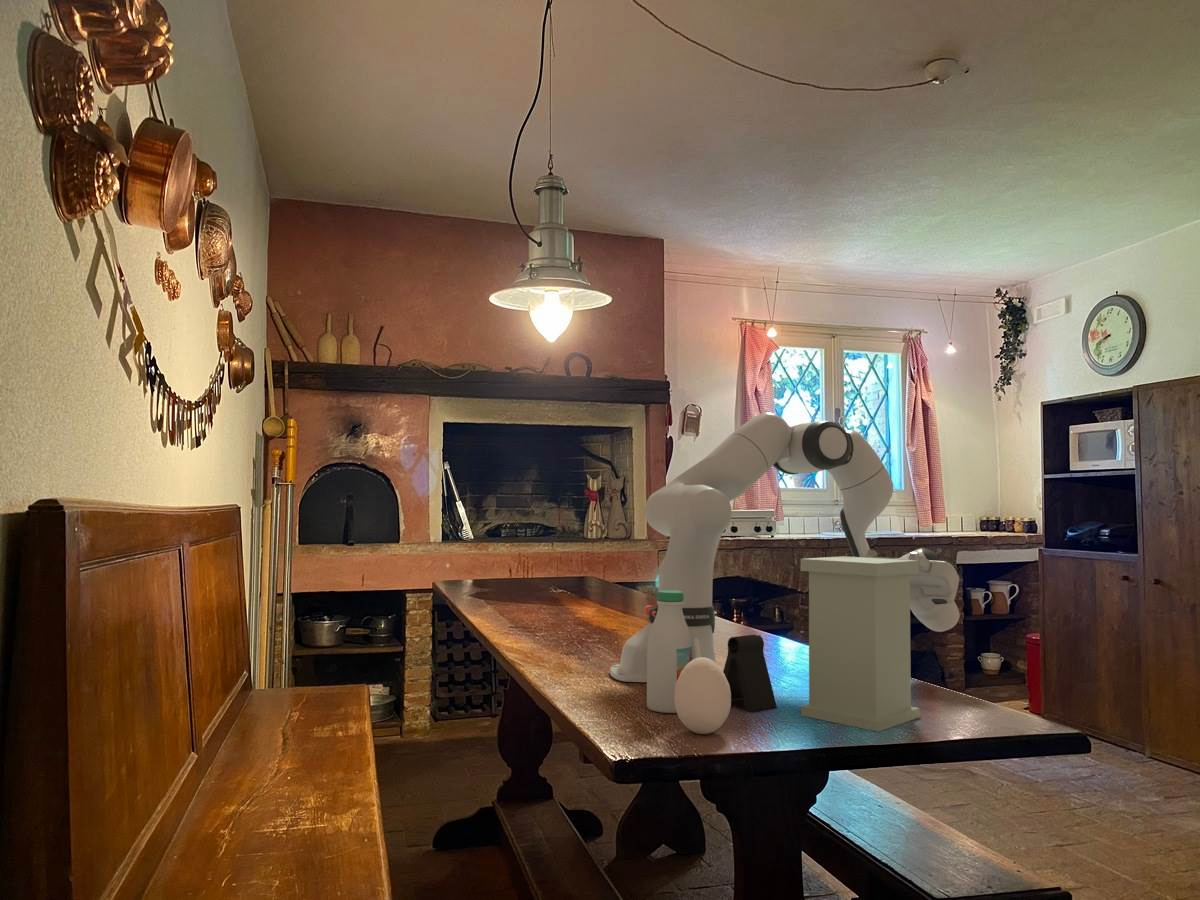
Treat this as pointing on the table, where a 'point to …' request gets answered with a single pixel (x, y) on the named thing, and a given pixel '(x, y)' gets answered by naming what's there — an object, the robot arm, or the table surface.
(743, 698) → the phone stand
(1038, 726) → the table surface
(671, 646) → the milk bottle
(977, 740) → the table surface
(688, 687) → the egg
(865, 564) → the pedestal stand
